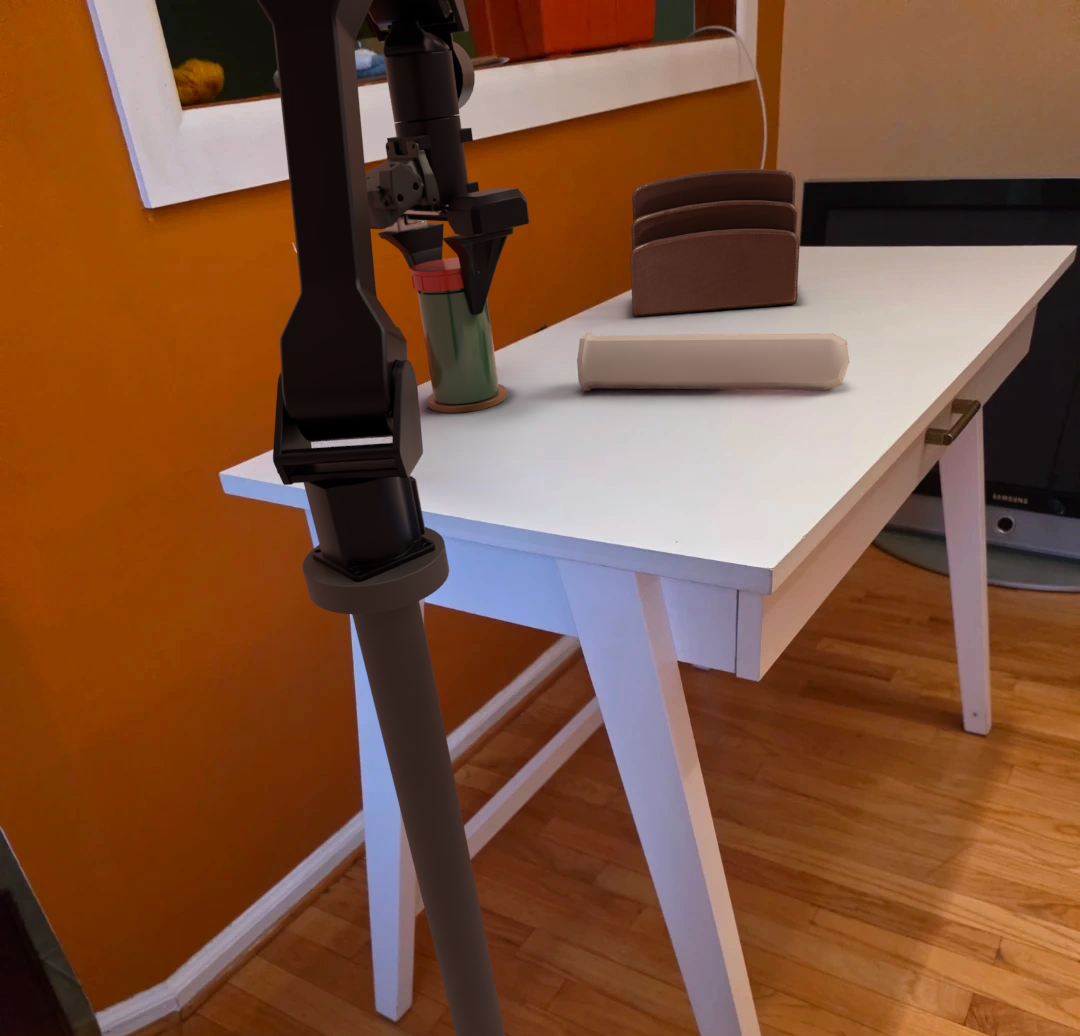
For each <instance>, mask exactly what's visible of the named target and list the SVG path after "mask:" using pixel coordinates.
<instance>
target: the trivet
mask: <svg viewBox="0 0 1080 1036" xmlns="http://www.w3.org/2000/svg"><path fill="white" fill-rule="evenodd" d="M498 386H499V392H498V393H497V394H496V395H495V396H493V397H491V398H488V399H485V400H482V401H478V402H473V403H466V404H443V403H439V402H436V401H435V400H434V396H433V393H432V394H430V395H429V396H428V398H427V403H428V407H429V408H430V409H431V410H433V411H436V412H440V413H448V414H456V413H457V414H459V413H460V414H461V413H470V412H475V411H480V410H485V409H488V408H491V407H494V406H496V405H498V404H500V403H502V402H503V401H505V400H506V399H507V397H508V391H507V390H508V389H507V388H506V387H505V386H504V385H503V384H499V383H498Z"/></svg>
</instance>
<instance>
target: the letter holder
mask: <svg viewBox="0 0 1080 1036" xmlns="http://www.w3.org/2000/svg"><path fill="white" fill-rule="evenodd" d="M796 184H797V182H796V178H795V175H794V174H793V173H792V172H790V171H788V170H782V169H766V168H733V169H732V168H730V169H729V168H728V169H718V170H708V171H701V172H695V173H687V174H682V175H677V176H672V177H671V176H670V177H667V178H663V179H659V180H654V181H651V182H647V183H644V184H641V185H638V186H637V187H635V188H634V190H633V192H632V196H631V203H632V225H631V228H630V229H631V231H630V234H631V252H630V255H629V264H630V279H631V280H630V281H631V306H632V308H631V309H632V316H633V317H644V316H656V315H671V314H672V315H673V314H682V313H683V314H684V313H696V312H708V311H709V312H712V311H719V310H720V311H723V310H731V309H732V310H733V309H746V308H758V307H759V308H760V307H774V306H787V305H788V306H789V305H796V304H797V302H798V294H799V293H798V287H799V263H800V246H801V245H800V244H801V243H800V237H799V235H798V234H797V233H798V232H797V231H798V208H797V207H796Z"/></svg>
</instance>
